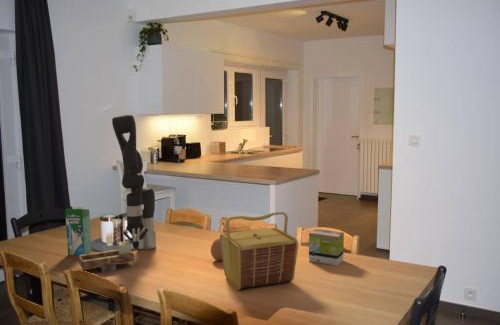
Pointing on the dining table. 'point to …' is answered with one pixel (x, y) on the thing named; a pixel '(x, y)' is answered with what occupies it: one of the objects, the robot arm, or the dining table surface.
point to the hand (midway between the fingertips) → (135, 248)
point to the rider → (124, 247)
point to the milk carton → (78, 231)
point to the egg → (216, 250)
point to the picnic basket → (258, 254)
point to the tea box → (326, 246)
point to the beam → (104, 260)
